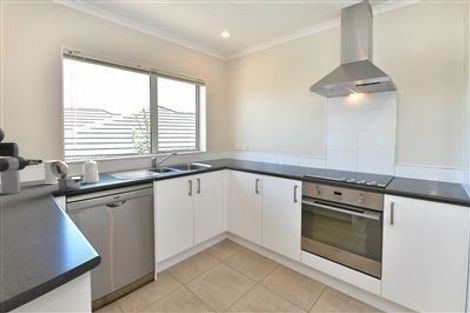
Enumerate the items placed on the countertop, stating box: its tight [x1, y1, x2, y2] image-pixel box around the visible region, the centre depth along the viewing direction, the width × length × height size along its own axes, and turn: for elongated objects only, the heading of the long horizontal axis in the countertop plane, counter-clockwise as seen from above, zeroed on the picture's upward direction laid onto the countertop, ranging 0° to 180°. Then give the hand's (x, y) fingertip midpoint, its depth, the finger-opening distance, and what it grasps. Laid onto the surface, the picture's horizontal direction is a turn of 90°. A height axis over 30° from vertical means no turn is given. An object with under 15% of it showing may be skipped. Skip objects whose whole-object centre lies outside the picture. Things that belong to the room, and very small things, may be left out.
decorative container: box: [42, 159, 61, 185], centre depth 190 cm, size 12×12×18 cm
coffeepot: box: [82, 159, 100, 184], centre depth 194 cm, size 11×25×19 cm, turn 58°
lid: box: [50, 160, 70, 179], centre depth 159 cm, size 13×12×2 cm
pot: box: [57, 176, 83, 192], centre depth 168 cm, size 14×16×8 cm
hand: (41, 161), depth 146 cm, fingers closed
